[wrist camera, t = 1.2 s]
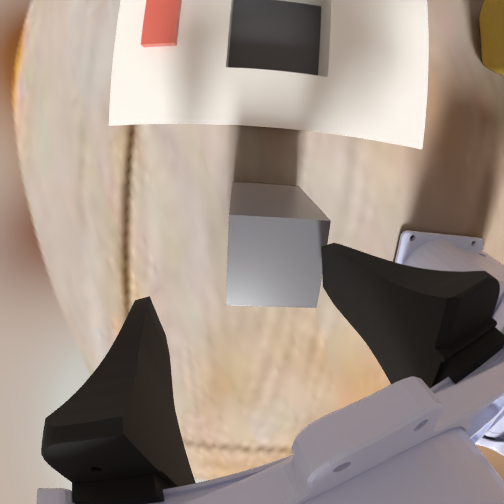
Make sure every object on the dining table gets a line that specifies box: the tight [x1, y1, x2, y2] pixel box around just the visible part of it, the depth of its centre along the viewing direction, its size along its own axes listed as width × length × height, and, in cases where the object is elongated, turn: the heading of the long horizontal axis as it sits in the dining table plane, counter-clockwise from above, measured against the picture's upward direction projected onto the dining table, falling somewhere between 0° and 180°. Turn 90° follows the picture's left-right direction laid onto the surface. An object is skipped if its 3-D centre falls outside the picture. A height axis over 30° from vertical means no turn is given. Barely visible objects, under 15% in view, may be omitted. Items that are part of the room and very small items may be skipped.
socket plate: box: [109, 0, 428, 149], centre depth 17 cm, size 20×13×4 cm, turn 86°
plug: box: [226, 182, 330, 308], centre depth 19 cm, size 4×4×9 cm
